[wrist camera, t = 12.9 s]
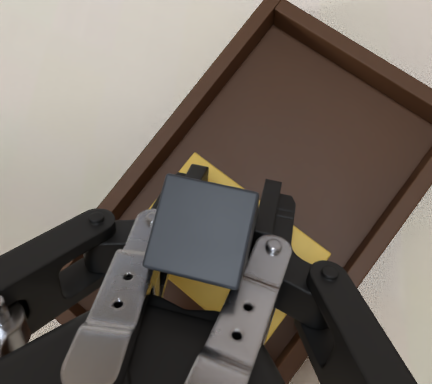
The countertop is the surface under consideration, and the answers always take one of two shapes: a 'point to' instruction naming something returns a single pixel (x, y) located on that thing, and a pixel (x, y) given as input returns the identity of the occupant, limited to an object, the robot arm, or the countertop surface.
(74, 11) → the countertop surface
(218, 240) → the grey post with base
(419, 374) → the countertop surface
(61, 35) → the countertop surface
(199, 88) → the tray
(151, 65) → the countertop surface
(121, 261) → the robot arm
